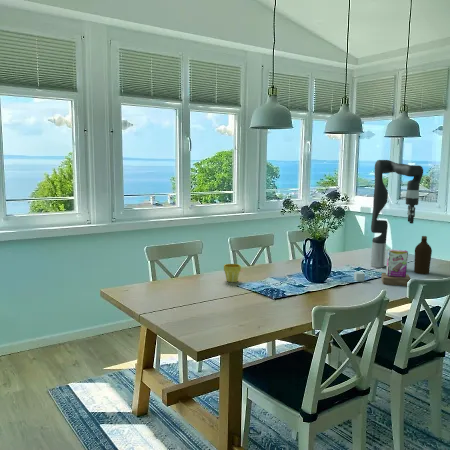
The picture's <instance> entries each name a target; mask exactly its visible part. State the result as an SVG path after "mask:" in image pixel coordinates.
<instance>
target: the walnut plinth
mask: <svg viewBox="0 0 450 450" xmlns="http://www.w3.org/2000/svg"><path fill="white" fill-rule="evenodd" d="M380 278H381V282H382V285H386V286H399V285H402V286H401V287H403V286H404V287H408V286H407V282H408V281H409V280H410V279H411V280H412V278H411V276H410V275H409V274H407V273H406V277H391V276H387V275H386V272H381V277H380Z"/></svg>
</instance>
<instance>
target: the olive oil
mask: <svg viewBox="0 0 450 450" xmlns="http://www.w3.org/2000/svg"><path fill="white" fill-rule="evenodd" d="M432 253H433V250H432V247H431V245H430V244H429V243H428V236H426V235H422V236H421V240H420V242H419V243H418V244H416V246H415V247H414V265H413V267H414V268H413V272H414V273H415V274H419V275H429V274H430V267H431V260H432V255H433V254H432Z"/></svg>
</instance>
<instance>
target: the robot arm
mask: <svg viewBox="0 0 450 450" xmlns="http://www.w3.org/2000/svg"><path fill="white" fill-rule="evenodd" d="M390 173H391V174H392V173H395V174H398V175H401V176H406V177H412V179H411V180H408V181H407V185H406V194H405V195H406V196H405V204H406V205H408V206H407V222H408V223H409V224H414V222H415V221H414V220H415V215H416V207H415V206H418V205H419V199H420V183H421V180H422V177H423V176H424V168H423V166H421V165H417V164H416V165H414V164H413V165H412V164H411V165H410V164H405V163H397V162H394V161H392V160H390V159H389V160H388V159H378V160H376V161H375V163H374V191H373V202H372V203H373V207H372V216H371V225H370V230H371V233H373V234H379V235H378V236H375V237H373V238H372V240H371V241H372V242H371V243H372V244H371V256H370V257H371V260H370V267H373V268H384V267H385V261H386V248H387V247H386V246H387V236H388V224H389V223H388V221H387V220H385V219H378V217H379V215H380V213H381V212H382V210H383V209H384V207H385V206H386V204H387V203H388V197H389V193H388V190H387V187H386V185H385V183H384V179H383V174H390Z"/></svg>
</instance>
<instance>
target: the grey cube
mask: <svg viewBox="0 0 450 450" xmlns="http://www.w3.org/2000/svg"><path fill="white" fill-rule="evenodd" d="M353 273H354V274H353V281H355V282H365V276H366V273H364V272H363V271H354V272H353Z"/></svg>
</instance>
